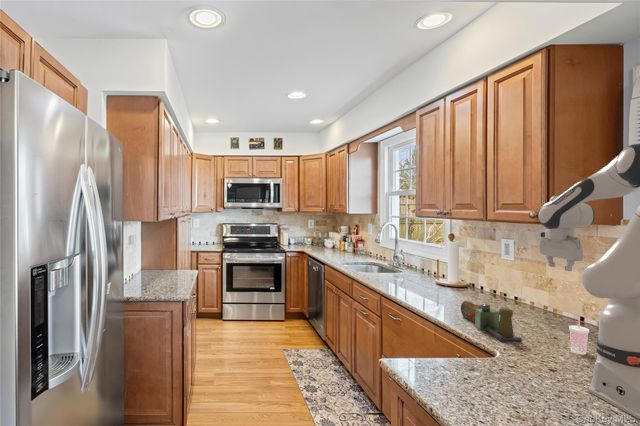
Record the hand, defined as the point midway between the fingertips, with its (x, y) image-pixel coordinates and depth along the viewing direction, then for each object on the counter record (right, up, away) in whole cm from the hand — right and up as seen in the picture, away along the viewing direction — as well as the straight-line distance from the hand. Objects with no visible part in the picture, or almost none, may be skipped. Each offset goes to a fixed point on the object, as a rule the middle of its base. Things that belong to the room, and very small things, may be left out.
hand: (559, 268), depth 141 cm
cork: (-20, -28, +4) cm, 35 cm away
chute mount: (-22, -29, +7) cm, 37 cm away
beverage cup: (-1, -30, -11) cm, 32 cm away
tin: (-25, -29, +24) cm, 45 cm away
